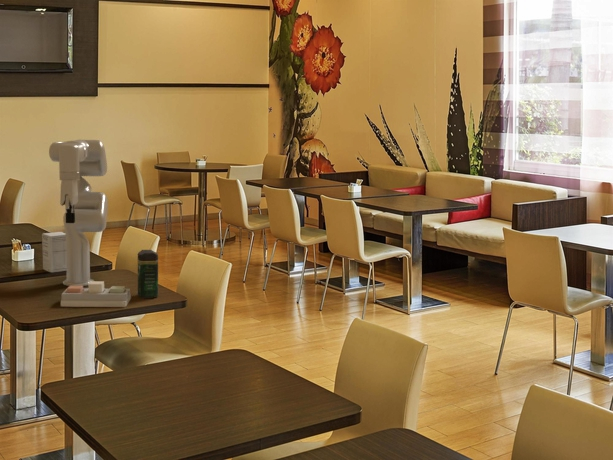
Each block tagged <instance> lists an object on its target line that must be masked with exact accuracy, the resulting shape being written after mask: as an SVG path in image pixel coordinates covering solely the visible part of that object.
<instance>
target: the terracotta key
mask: <svg viewBox="0 0 613 460" xmlns="http://www.w3.org/2000/svg"><path fill="white" fill-rule="evenodd" d="M83 288H84V286H67V288H66V289H67V293H82V292H83Z"/></svg>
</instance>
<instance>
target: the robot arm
mask: <svg viewBox="0 0 613 460" xmlns="http://www.w3.org/2000/svg"><path fill="white" fill-rule="evenodd" d="M48 155H49V158H50V160H51V161H52V162H53V163H54V162H55V163H57V162H58V164H59V165H58V170H59V181H61V183H60V200H59V203H60V206H62V207H63V206H65V213H64V214H63V228H64V233H65V234H66V267H67V271H66V279H64V280H63V281H62V284H63V286H67V287H69V286H83V287H85V286H88V284H89V283H90V282H91V281H95V280H94V278H93V279H92V278H91V267H90V266H91V263H90V262H91V261H90V259H91V258H90V255H91V254H90V253H91V251H90V241H89V239H88V237H87V236H86V235H85V233H101V232H103V231H105V229H106V227H107V224H108V223H107V221H108V208H109V201H108V197H107V195H106V193H104V192H103V191H102V192H101V191H92V186H91V184H90V183H89V182H88V181H87V180H86V179H85V178H84V177H104V176H105V175H106V174H107V172H108V161H107V153H106V149H105V146H104V144H103V142H102V141H101V140H97V139H75V140H68V141H57V142H56V141H54V142H52V143H51V144H50V145H49V150H48Z"/></svg>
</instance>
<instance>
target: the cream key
mask: <svg viewBox="0 0 613 460" xmlns="http://www.w3.org/2000/svg"><path fill="white" fill-rule="evenodd" d="M87 286H88V287H87V288H88V293H102V292H103V291H104V288H105V281H104V280H103V281H95V280H94V281H91V282H90V283H89V284H88V285H87Z"/></svg>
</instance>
